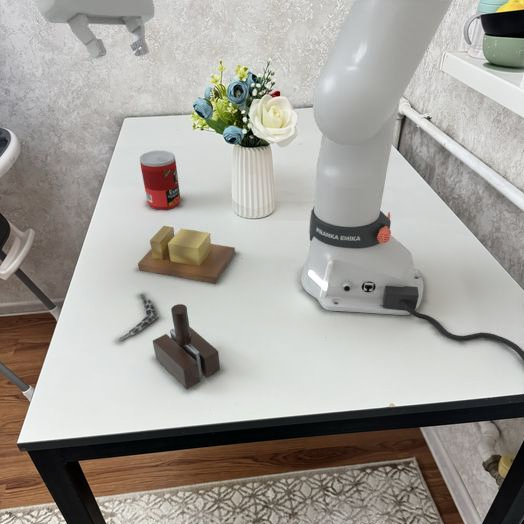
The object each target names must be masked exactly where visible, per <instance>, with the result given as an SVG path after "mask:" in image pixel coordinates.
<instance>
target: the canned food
mask: <svg viewBox="0 0 524 524" xmlns="http://www.w3.org/2000/svg"><path fill="white" fill-rule="evenodd" d="M139 163H140V169H141V176H142V181H143V185H144V191H145V196H146V202H147V204H148V206H149V207H150V208H152V209H154V210H159V211H165V210H166V211H167V210H171V209H174V208H176V207H178V206H179V205H180V203H181V192H180V185H179V176H178V170H177V169H178V168H177V161H176V156H175V154H174V153H173V152H170V151H166V150H152V151H147V152H144V153H142V154H141V155H140V157H139Z"/></svg>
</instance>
